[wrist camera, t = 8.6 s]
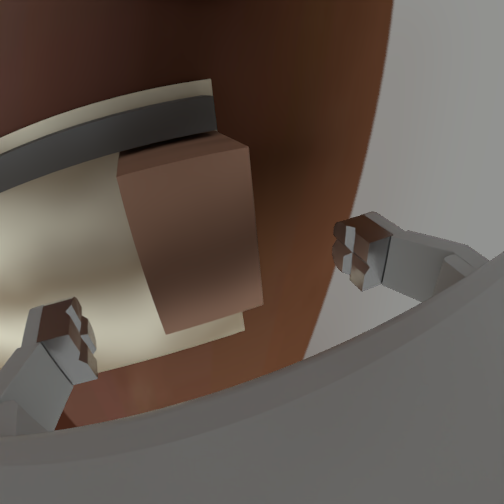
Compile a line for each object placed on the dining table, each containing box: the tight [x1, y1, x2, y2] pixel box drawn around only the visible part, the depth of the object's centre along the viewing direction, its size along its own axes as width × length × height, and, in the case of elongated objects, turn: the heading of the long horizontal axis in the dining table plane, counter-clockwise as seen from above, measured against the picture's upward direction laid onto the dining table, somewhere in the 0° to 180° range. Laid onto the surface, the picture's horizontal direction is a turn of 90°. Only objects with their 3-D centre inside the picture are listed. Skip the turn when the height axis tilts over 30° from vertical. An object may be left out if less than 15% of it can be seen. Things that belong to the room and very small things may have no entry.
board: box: [0, 79, 245, 373], centre depth 15 cm, size 16×21×4 cm
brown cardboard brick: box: [116, 130, 263, 335], centre depth 14 cm, size 7×4×5 cm, turn 6°
